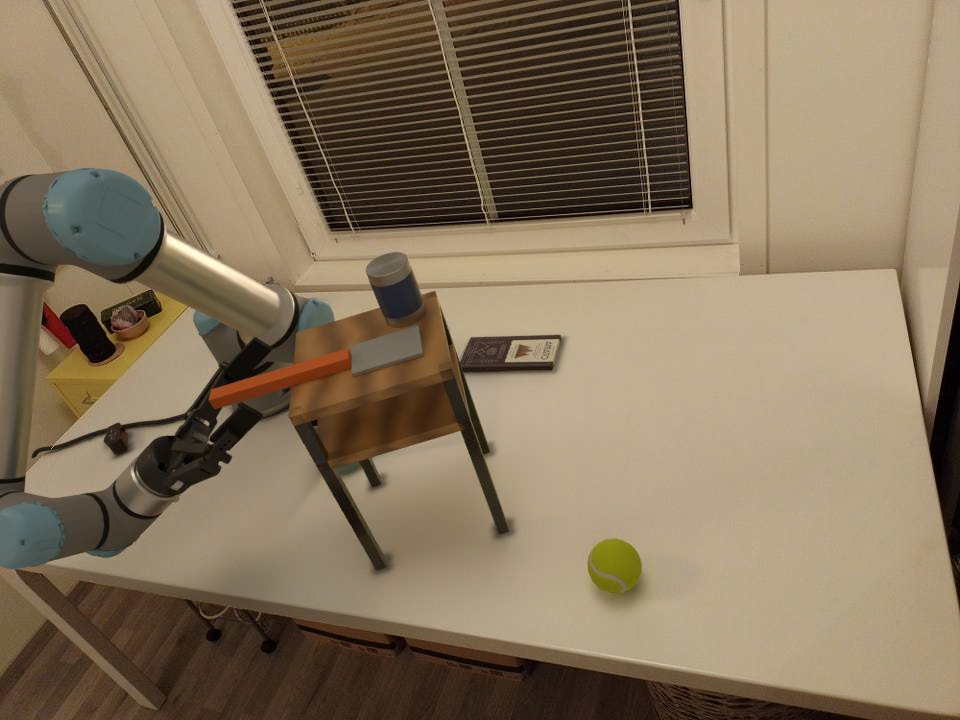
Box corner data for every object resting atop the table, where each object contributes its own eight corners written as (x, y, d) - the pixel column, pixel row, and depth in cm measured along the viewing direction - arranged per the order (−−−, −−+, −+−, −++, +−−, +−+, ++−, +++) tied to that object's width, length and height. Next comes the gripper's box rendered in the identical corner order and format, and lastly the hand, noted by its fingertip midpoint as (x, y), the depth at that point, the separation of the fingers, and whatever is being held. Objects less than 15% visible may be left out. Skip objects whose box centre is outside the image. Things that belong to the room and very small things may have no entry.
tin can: (386, 332, 91) (365, 281, 86) (384, 309, 96) (364, 259, 91) (428, 320, 91) (410, 268, 86) (424, 297, 95) (406, 246, 91)
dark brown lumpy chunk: (128, 430, 144) (119, 419, 142) (129, 450, 138) (120, 439, 136) (106, 441, 143) (97, 429, 141) (106, 461, 137) (96, 450, 135)
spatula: (212, 419, 86) (206, 410, 85) (219, 389, 90) (213, 380, 89) (424, 356, 85) (420, 345, 84) (419, 328, 90) (415, 318, 89)
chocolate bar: (470, 337, 138) (560, 334, 131) (471, 341, 138) (561, 338, 132) (457, 367, 131) (551, 366, 125) (459, 371, 132) (552, 370, 125)
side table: (376, 570, 101) (288, 417, 82) (371, 480, 115) (296, 332, 97) (509, 531, 101) (451, 368, 82) (488, 445, 115) (435, 290, 96)
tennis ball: (586, 599, 89) (577, 568, 85) (597, 555, 94) (590, 524, 90) (639, 609, 87) (633, 577, 83) (648, 563, 91) (643, 531, 87)
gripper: (201, 425, 105) (289, 334, 98) (168, 560, 85) (276, 459, 78) (155, 401, 101) (243, 304, 94) (109, 537, 81) (216, 427, 75)
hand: (258, 374), depth 86 cm, fingers open, 13 cm apart
